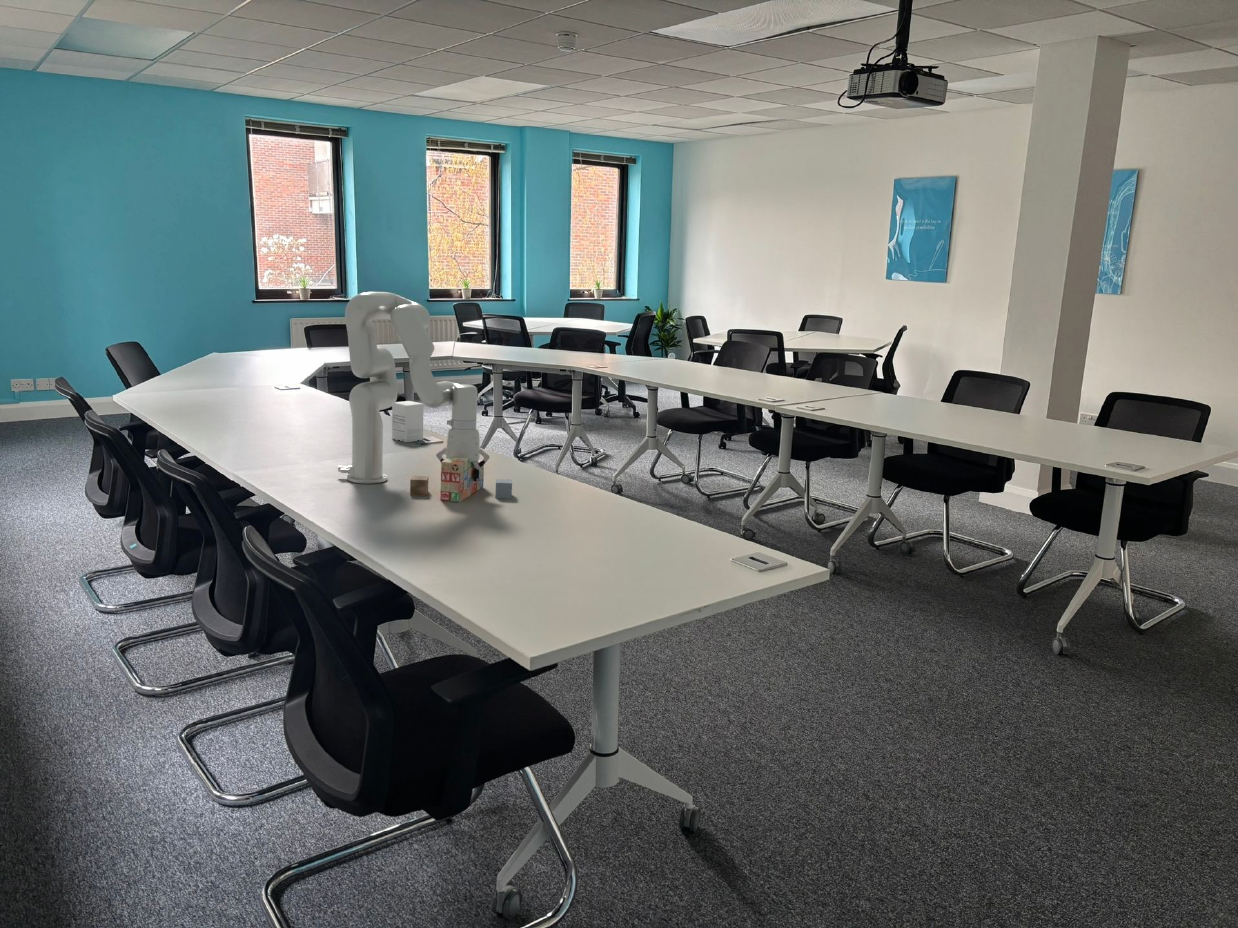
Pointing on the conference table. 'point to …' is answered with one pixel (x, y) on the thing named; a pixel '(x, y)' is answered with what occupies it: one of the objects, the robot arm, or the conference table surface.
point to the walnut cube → (419, 485)
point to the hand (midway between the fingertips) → (462, 480)
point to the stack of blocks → (459, 479)
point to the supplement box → (407, 421)
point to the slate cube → (503, 488)
